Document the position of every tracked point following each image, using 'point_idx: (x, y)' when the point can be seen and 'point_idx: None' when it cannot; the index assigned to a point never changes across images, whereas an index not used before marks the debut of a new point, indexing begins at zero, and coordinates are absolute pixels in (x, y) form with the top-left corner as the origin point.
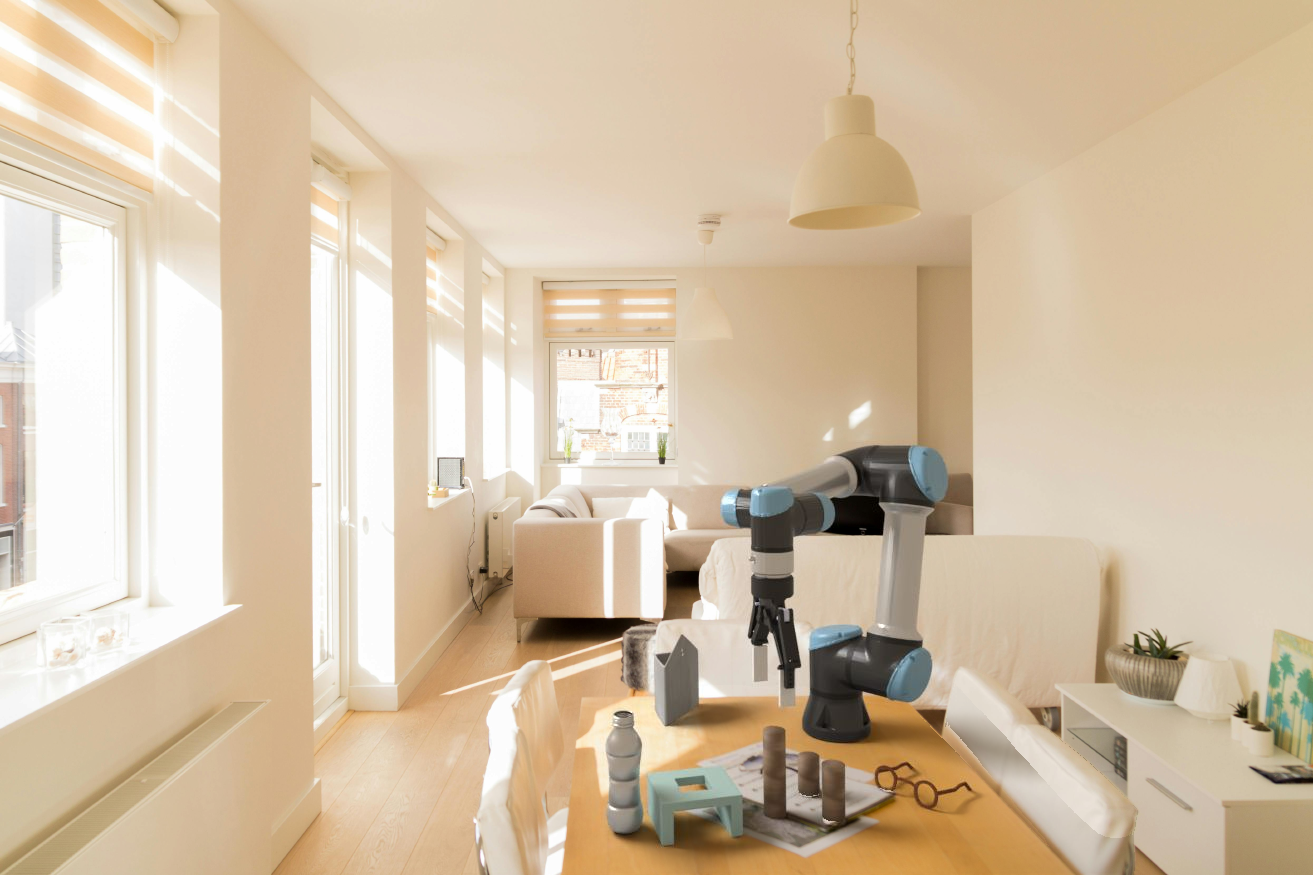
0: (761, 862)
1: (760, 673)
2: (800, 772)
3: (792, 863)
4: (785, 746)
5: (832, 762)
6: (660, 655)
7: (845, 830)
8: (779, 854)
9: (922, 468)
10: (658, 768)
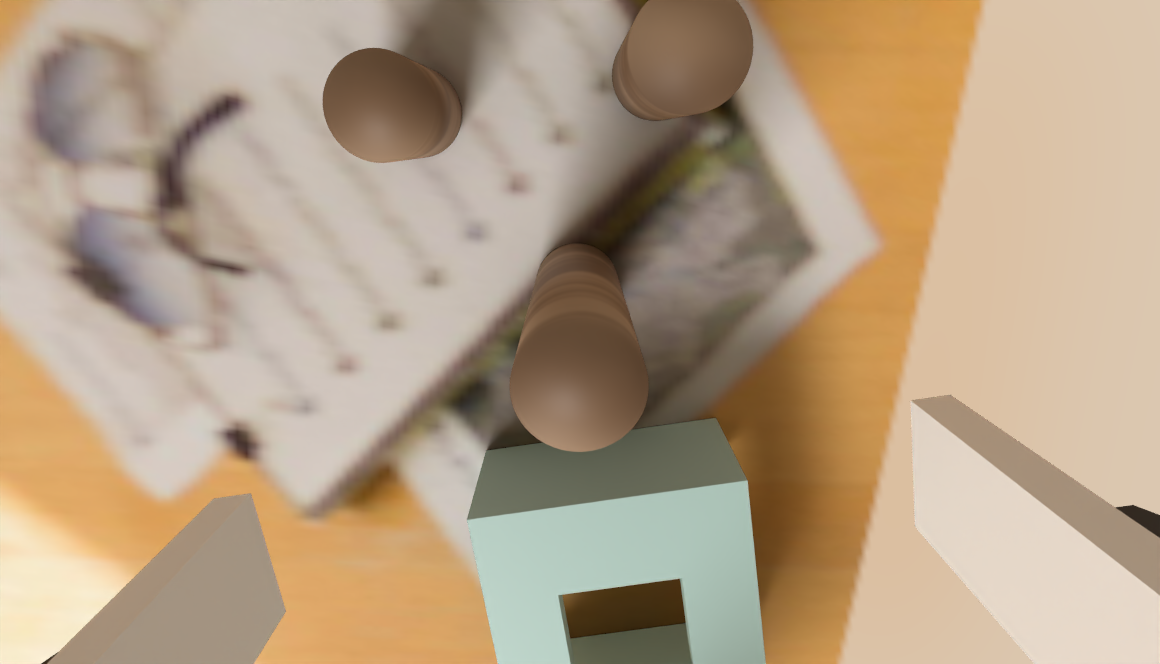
0: (882, 388)
1: (235, 600)
2: (420, 155)
3: (908, 296)
4: (600, 302)
5: (667, 47)
6: None
7: None
8: (848, 325)
9: None
10: None
